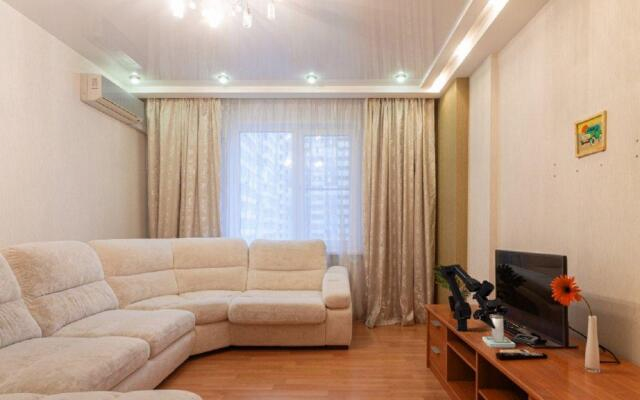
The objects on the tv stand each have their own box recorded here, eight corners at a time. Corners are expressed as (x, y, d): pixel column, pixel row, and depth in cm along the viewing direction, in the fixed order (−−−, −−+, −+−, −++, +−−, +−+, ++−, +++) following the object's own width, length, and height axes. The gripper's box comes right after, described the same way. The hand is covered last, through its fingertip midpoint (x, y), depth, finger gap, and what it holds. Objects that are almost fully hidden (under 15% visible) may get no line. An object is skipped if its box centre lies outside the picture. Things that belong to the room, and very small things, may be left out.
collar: (512, 341, 200) (512, 337, 200) (518, 337, 207) (518, 333, 207) (531, 345, 193) (531, 341, 194) (537, 341, 200) (537, 337, 200)
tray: (482, 340, 203) (482, 336, 203) (506, 340, 202) (506, 336, 202) (490, 347, 191) (489, 343, 191) (515, 348, 190) (515, 343, 190)
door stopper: (503, 324, 234) (502, 304, 235) (514, 324, 233) (512, 304, 234) (507, 328, 226) (506, 307, 226) (518, 328, 224) (517, 307, 225)
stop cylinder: (493, 337, 201) (492, 313, 201) (505, 339, 198) (503, 314, 198) (491, 340, 196) (489, 315, 197) (503, 342, 193) (501, 317, 194)
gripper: (475, 294, 200) (491, 320, 188) (505, 291, 205) (522, 317, 193) (466, 306, 207) (481, 332, 195) (495, 303, 212) (511, 329, 200)
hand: (499, 327), depth 196 cm, fingers closed on stop cylinder, 5 cm apart
